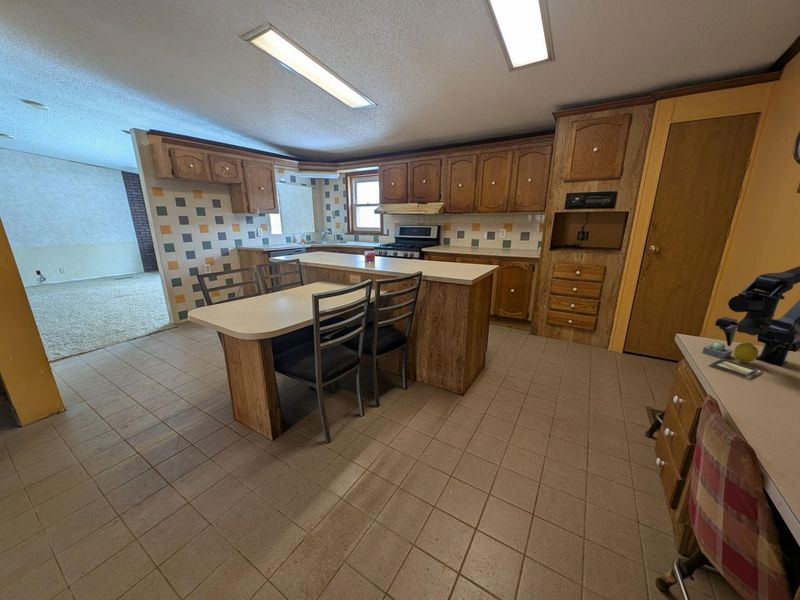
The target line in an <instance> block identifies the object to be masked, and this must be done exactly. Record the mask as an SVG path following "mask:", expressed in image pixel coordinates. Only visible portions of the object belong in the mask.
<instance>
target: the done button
mask: <svg viewBox="0 0 800 600" xmlns="http://www.w3.org/2000/svg"><path fill="white" fill-rule="evenodd" d="M712 345H713V348H712V349H715V350H718V351H721V352H723V351H724V348H725V349H726V345H725V344H724V343H722V342H721V343H720V342H714V343H713V344H712Z"/></svg>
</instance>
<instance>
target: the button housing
mask: <svg viewBox="0 0 800 600" xmlns="http://www.w3.org/2000/svg"><path fill="white" fill-rule="evenodd" d="M713 345H714V344H709V345H707V346H704V347H703V350H702V354H705V355H708V356H711V357H715V358H718V359H728V358H730V357H731V356H732V353H733V349H728V348H726V347H725V348H724V351H723V352H721V351H718V350H715V349H712V348H713Z"/></svg>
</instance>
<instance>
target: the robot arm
mask: <svg viewBox="0 0 800 600" xmlns="http://www.w3.org/2000/svg"><path fill="white" fill-rule="evenodd" d="M798 283H800V265H798V266H796V267H793V268H790V269H788V270H786V271H781V272H770V273H764V274H760V275H758V276H757V277H755V278H754V279H753V280H752V281H751V282H750V283H749V284H748V285H747V286H746V287H745V288H744V289H743V290H742V292H738V295H735V296H732V297H731V298H730V299H729V300H728V303H727V304H728V307H729V309H730V310H731V311H733V312H734V313H746V314H745V316H744V317H743V318H742V319H741V320H740V321H739V322H738V319H736V318H735V319H734V318H731V317H727V316H724V317H721V318H718V319H716V321H715V324H714V326H716V327H718V329H720V330H722V331H723V333H724V335H725V339H726V344H727V347H731V345H732V343H733V341H734V337H735V335H736V334H735V333H736V332H738V333H741V334H742V333H743V334H747V335H750V336H757V342H759V343H763V344H764V345H763V348H762V350H761V352H760V354H759V355H757V357H756V359H755V360H758V361H761V362H766V363H769V364H772V365H775V366H779V367H782V366H785V365H786V364H788V363H789V361H788V360H786V358H787V356H788V354H789V352H794V353H796V352H798V351H800V299H798V300H797V301H796V302H795V304H794V305H792V306H791V307H790V309H788V310H787V311H786V312H785V313H784V314H783V315H781V317H780V318H776V319H774V316H775V312H776V310H777V307H778V305H779V302H780V301H781V300H785V299H786V297H785V296H784V295H783V294H786V293H787V292H789V291H791V290H792V289H794V285H796V284H798Z"/></svg>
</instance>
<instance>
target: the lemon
mask: <svg viewBox="0 0 800 600" xmlns="http://www.w3.org/2000/svg"><path fill="white" fill-rule="evenodd" d="M758 354H759V350H758V348H757V347H756V346H755V345H754V344H752V343H751V342H743V343H739V344H737V346H735V348H734V350H733V356H734V357H735V359H737V360H738V361H739V362H741V364H742V363H751V362H753V361H754V360H757V359H756V357H757V356H759V355H758Z"/></svg>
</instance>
